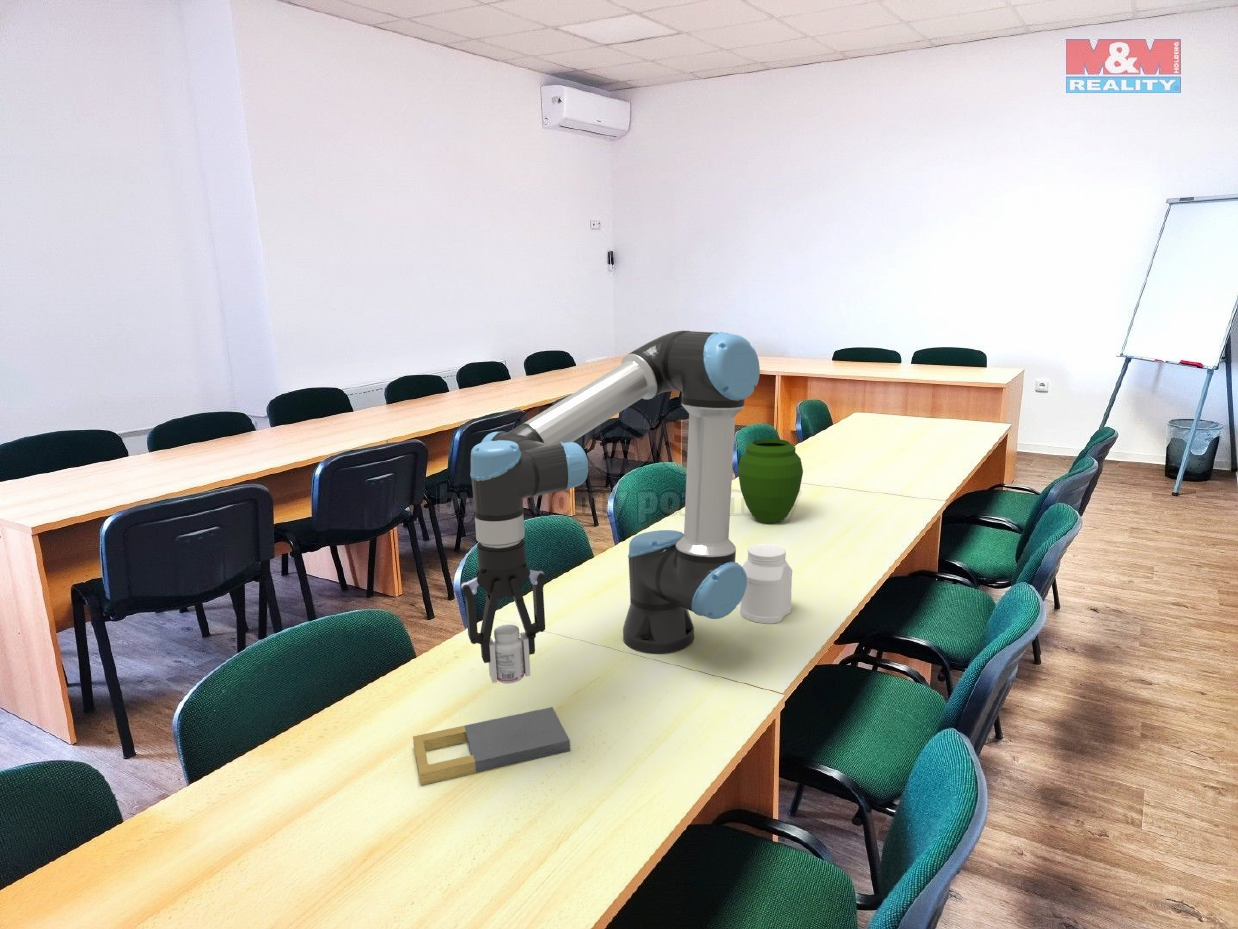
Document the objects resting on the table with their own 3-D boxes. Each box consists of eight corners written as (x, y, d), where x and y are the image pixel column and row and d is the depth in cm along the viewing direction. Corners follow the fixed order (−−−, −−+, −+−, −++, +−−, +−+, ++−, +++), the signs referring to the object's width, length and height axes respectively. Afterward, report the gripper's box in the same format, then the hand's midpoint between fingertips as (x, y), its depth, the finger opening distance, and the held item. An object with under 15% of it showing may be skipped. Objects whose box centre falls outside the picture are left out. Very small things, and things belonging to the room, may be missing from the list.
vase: (765, 506, 259) (766, 433, 253) (815, 519, 244) (817, 442, 238) (724, 519, 247) (724, 443, 241) (773, 534, 232) (775, 453, 226)
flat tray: (552, 717, 141) (552, 706, 140) (570, 751, 131) (569, 740, 130) (413, 747, 133) (412, 736, 132) (420, 785, 123) (419, 774, 122)
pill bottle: (510, 667, 133) (507, 620, 131) (530, 675, 131) (527, 628, 129) (489, 678, 130) (485, 631, 128) (509, 687, 127) (505, 638, 125)
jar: (774, 627, 173) (775, 562, 169) (734, 617, 178) (735, 554, 175) (795, 608, 182) (797, 546, 178) (757, 599, 187) (758, 539, 184)
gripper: (549, 526, 131) (556, 655, 136) (440, 540, 125) (451, 675, 131) (562, 539, 124) (568, 675, 130) (446, 556, 118) (458, 697, 124)
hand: (510, 675), depth 130 cm, fingers closed on pill bottle, 5 cm apart
